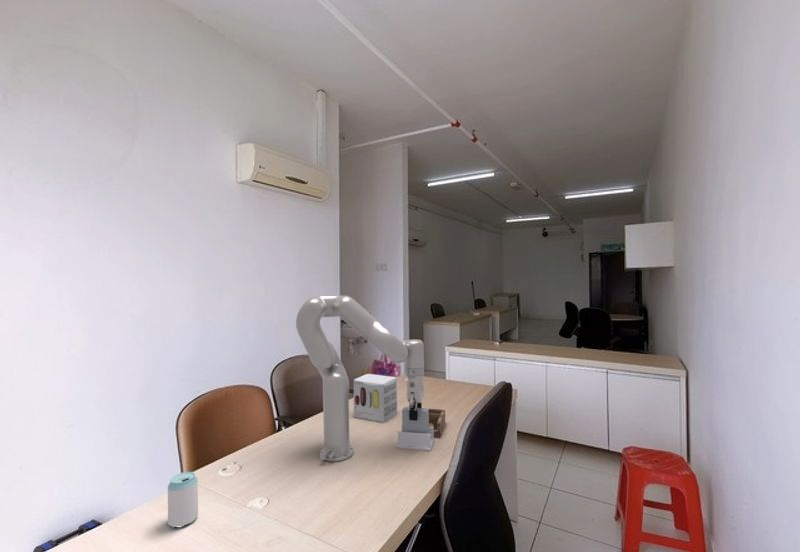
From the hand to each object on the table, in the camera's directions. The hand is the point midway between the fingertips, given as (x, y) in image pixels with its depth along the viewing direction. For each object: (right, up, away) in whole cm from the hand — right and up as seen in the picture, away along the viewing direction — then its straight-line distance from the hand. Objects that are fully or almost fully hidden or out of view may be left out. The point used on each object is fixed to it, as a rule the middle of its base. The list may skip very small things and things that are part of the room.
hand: (415, 416), depth 143 cm
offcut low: (+4, -12, +12) cm, 17 cm away
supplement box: (-18, -12, +31) cm, 38 cm away
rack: (+5, -11, +15) cm, 19 cm away
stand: (0, -11, 0) cm, 11 cm away
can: (-66, -12, -44) cm, 80 cm away
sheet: (0, -10, 0) cm, 10 cm away
